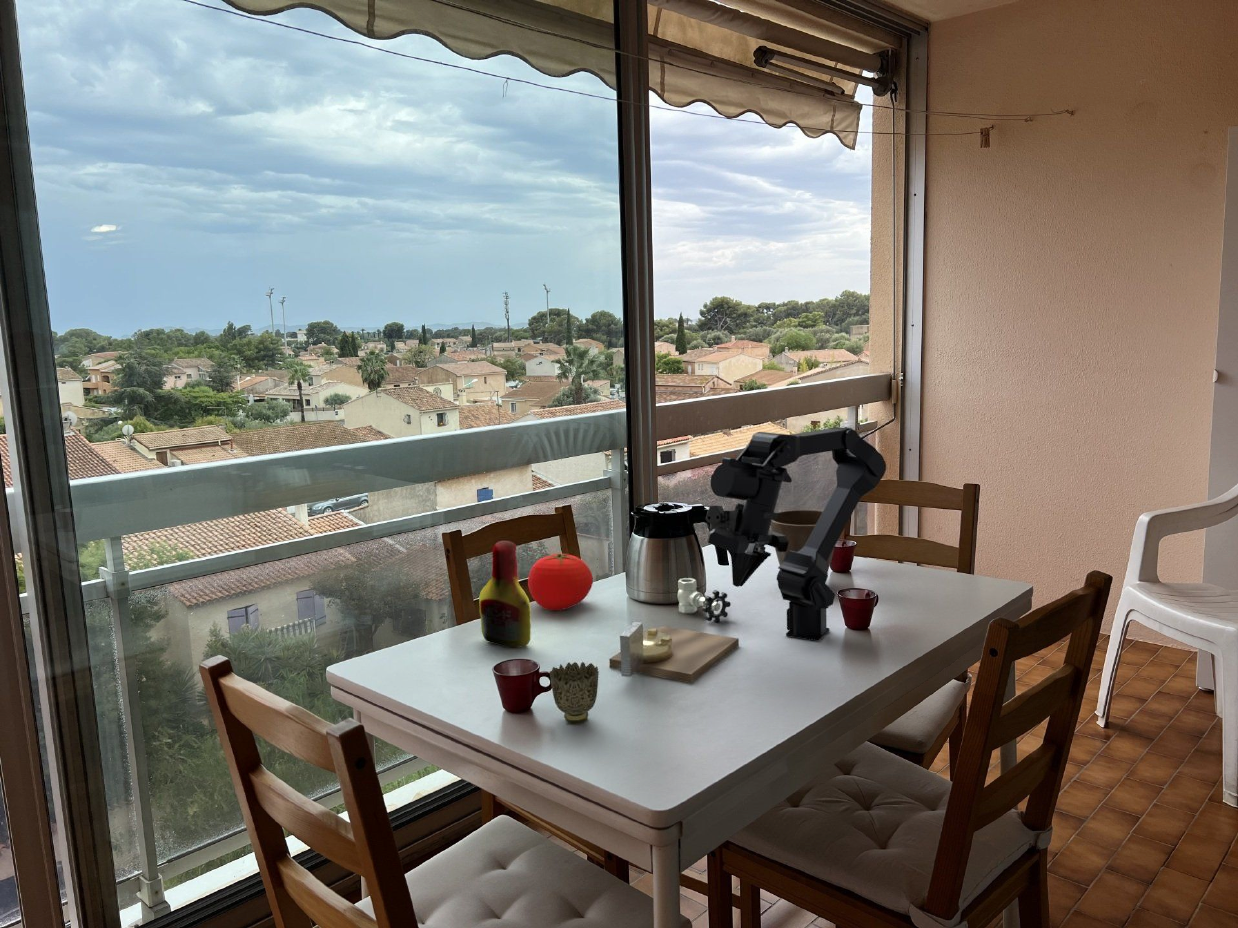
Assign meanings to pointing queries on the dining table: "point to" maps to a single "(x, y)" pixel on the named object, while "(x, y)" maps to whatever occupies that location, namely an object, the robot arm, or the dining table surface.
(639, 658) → the ring nut spanner
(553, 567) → the tomato
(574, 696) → the cup
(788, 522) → the plant pot
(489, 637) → the bottle
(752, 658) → the dining table surface
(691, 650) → the walnut base
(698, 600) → the valve
